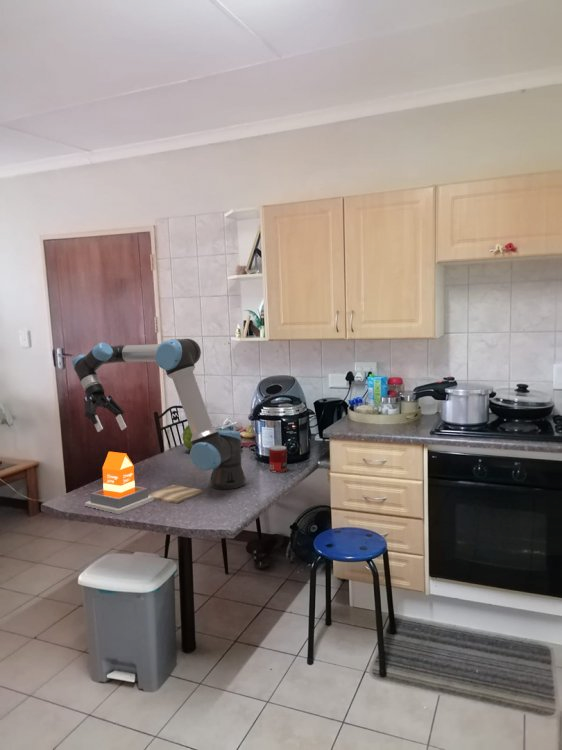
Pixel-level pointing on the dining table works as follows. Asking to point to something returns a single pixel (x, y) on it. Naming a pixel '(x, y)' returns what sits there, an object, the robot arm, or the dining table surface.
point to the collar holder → (119, 501)
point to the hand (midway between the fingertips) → (112, 429)
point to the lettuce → (187, 437)
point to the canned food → (278, 458)
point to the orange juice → (118, 475)
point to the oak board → (175, 493)
